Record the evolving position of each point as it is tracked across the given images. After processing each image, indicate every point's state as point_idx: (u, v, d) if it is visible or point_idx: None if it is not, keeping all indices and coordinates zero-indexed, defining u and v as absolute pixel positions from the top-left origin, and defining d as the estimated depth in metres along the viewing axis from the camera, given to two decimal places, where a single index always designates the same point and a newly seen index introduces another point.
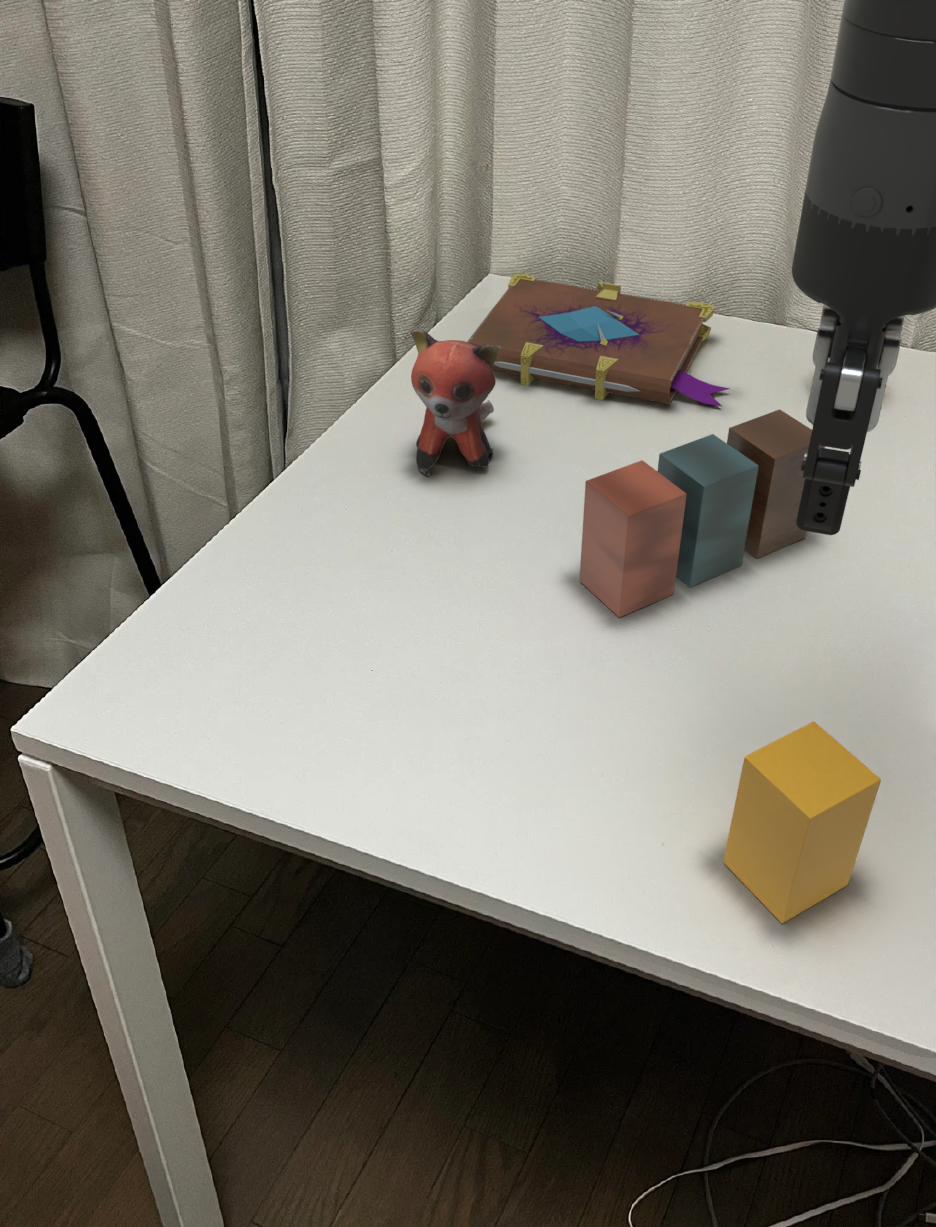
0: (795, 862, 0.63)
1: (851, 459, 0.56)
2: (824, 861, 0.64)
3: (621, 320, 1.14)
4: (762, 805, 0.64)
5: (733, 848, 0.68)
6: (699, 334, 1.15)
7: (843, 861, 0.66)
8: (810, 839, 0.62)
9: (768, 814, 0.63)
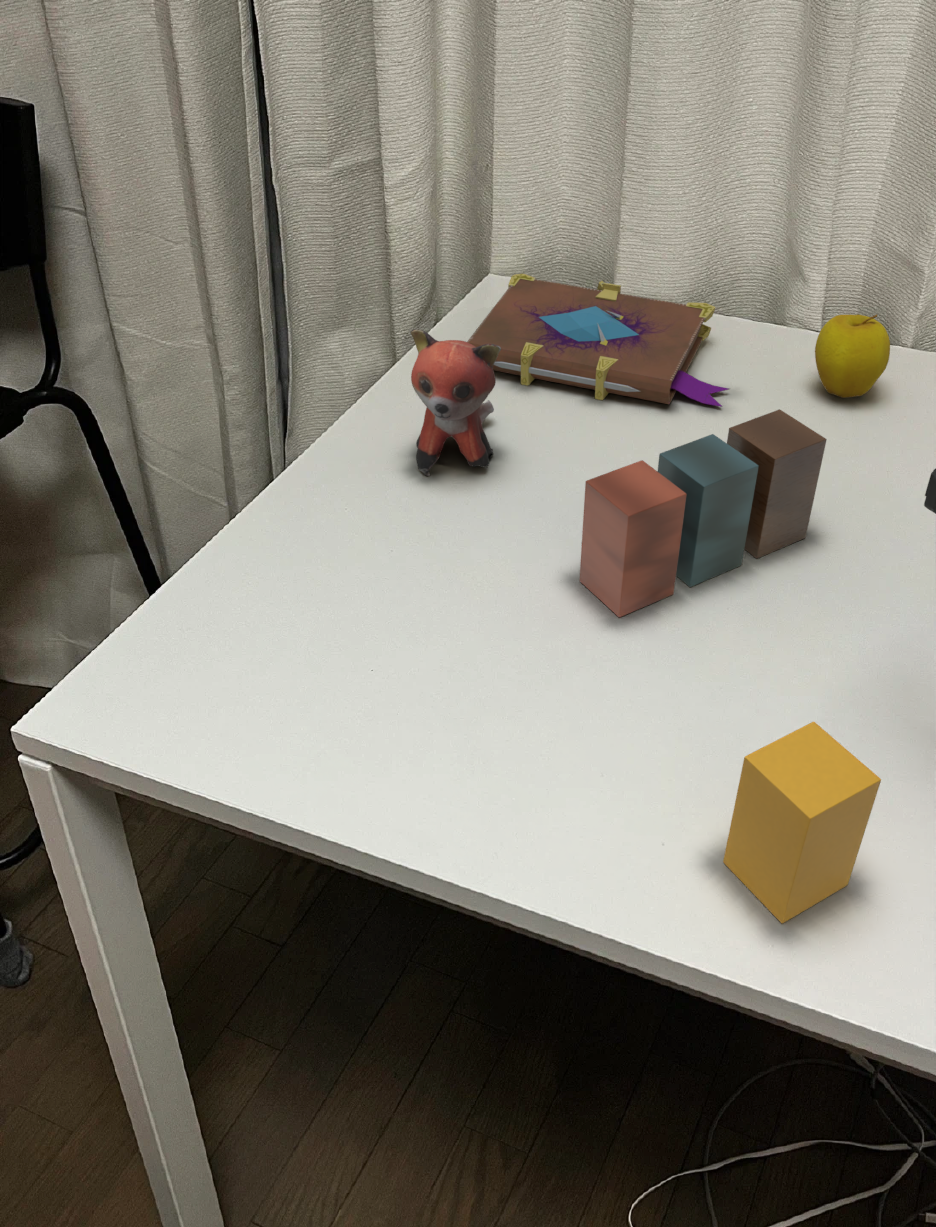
0: (795, 862, 0.63)
1: None
2: (824, 861, 0.64)
3: (621, 320, 1.14)
4: (762, 805, 0.64)
5: (733, 848, 0.68)
6: (699, 334, 1.15)
7: (843, 861, 0.66)
8: (810, 839, 0.62)
9: (768, 814, 0.63)
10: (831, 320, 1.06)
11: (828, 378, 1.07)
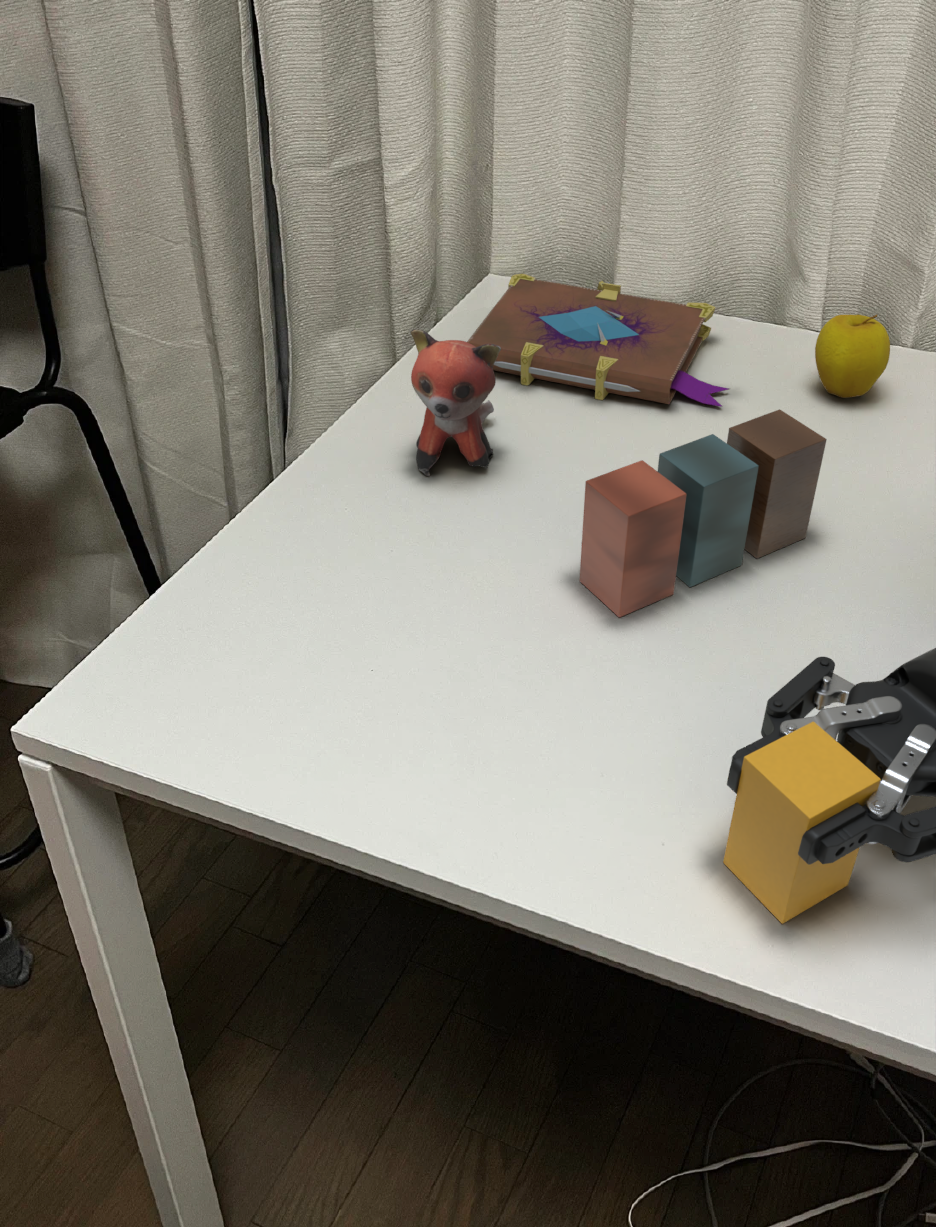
0: (794, 862, 0.63)
1: None
2: None
3: (621, 320, 1.14)
4: (762, 805, 0.64)
5: (733, 848, 0.68)
6: (699, 334, 1.15)
7: (843, 861, 0.66)
8: None
9: (768, 814, 0.63)
10: (831, 320, 1.06)
11: (828, 378, 1.07)
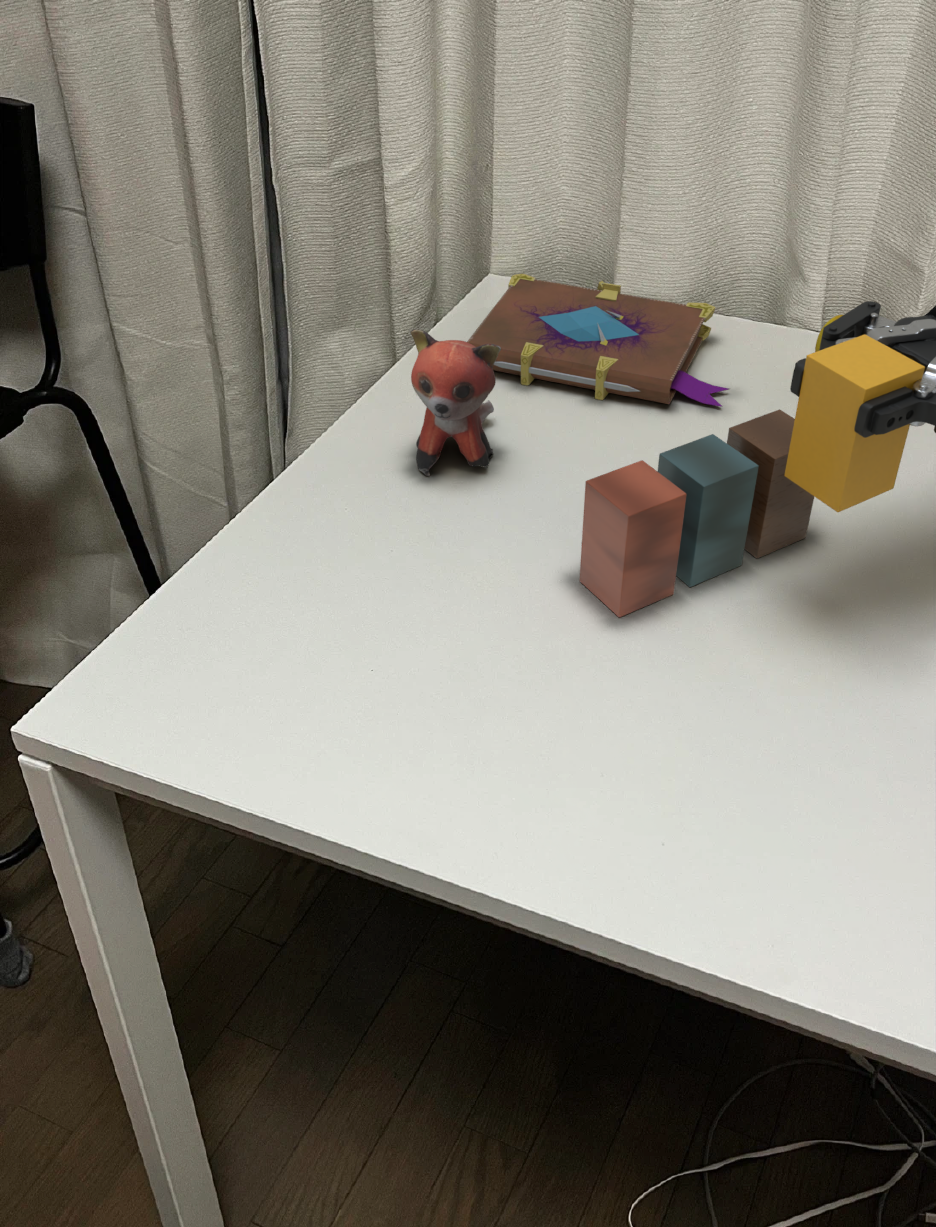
0: (850, 442, 0.73)
1: None
2: (875, 449, 0.75)
3: (621, 320, 1.14)
4: (822, 397, 0.74)
5: (794, 456, 0.78)
6: (699, 334, 1.15)
7: (890, 455, 0.76)
8: None
9: (827, 403, 0.74)
10: (831, 320, 1.06)
11: None
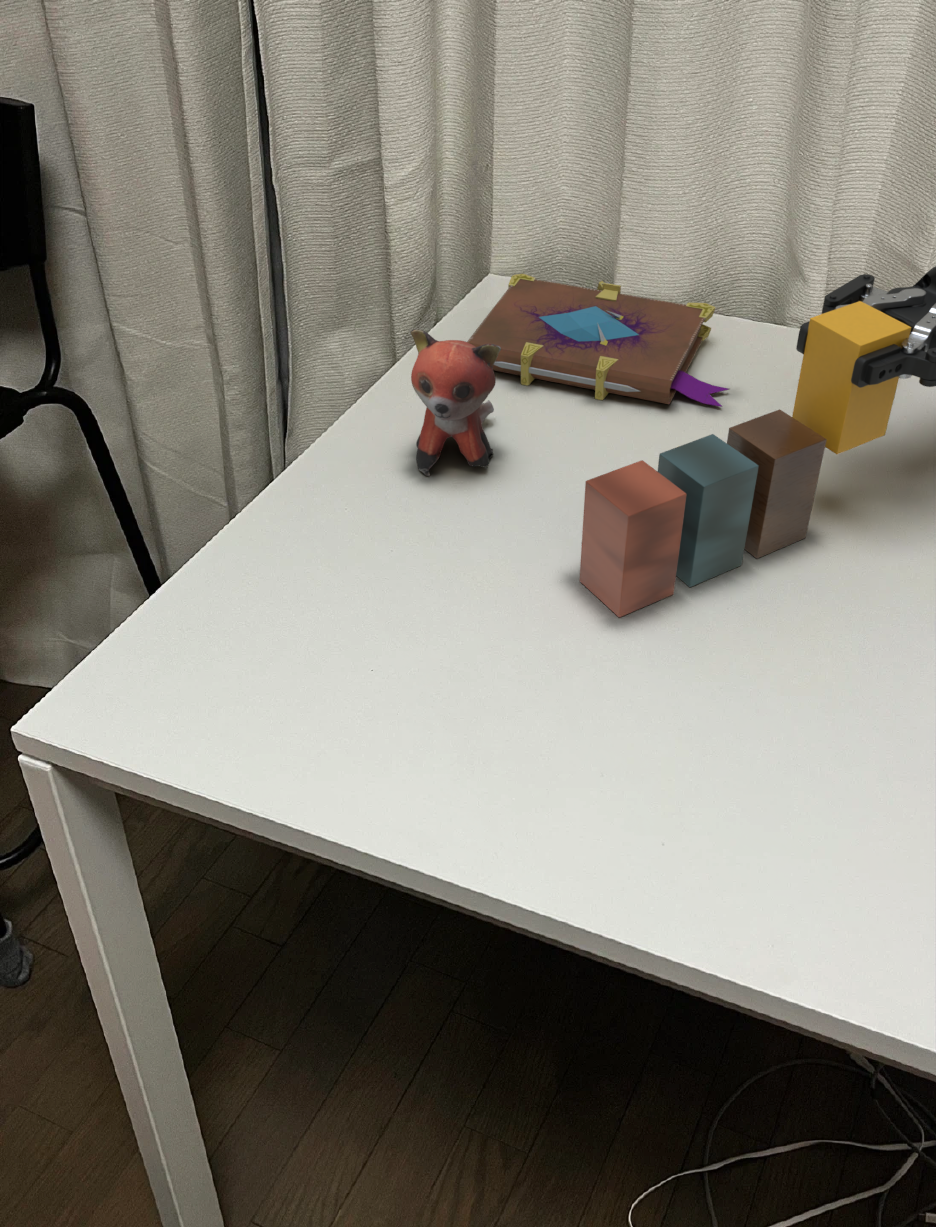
0: (848, 392, 0.86)
1: None
2: (869, 399, 0.87)
3: (621, 320, 1.14)
4: (823, 354, 0.86)
5: (799, 406, 0.91)
6: (699, 334, 1.15)
7: (882, 405, 0.88)
8: None
9: (828, 359, 0.86)
10: None
11: None
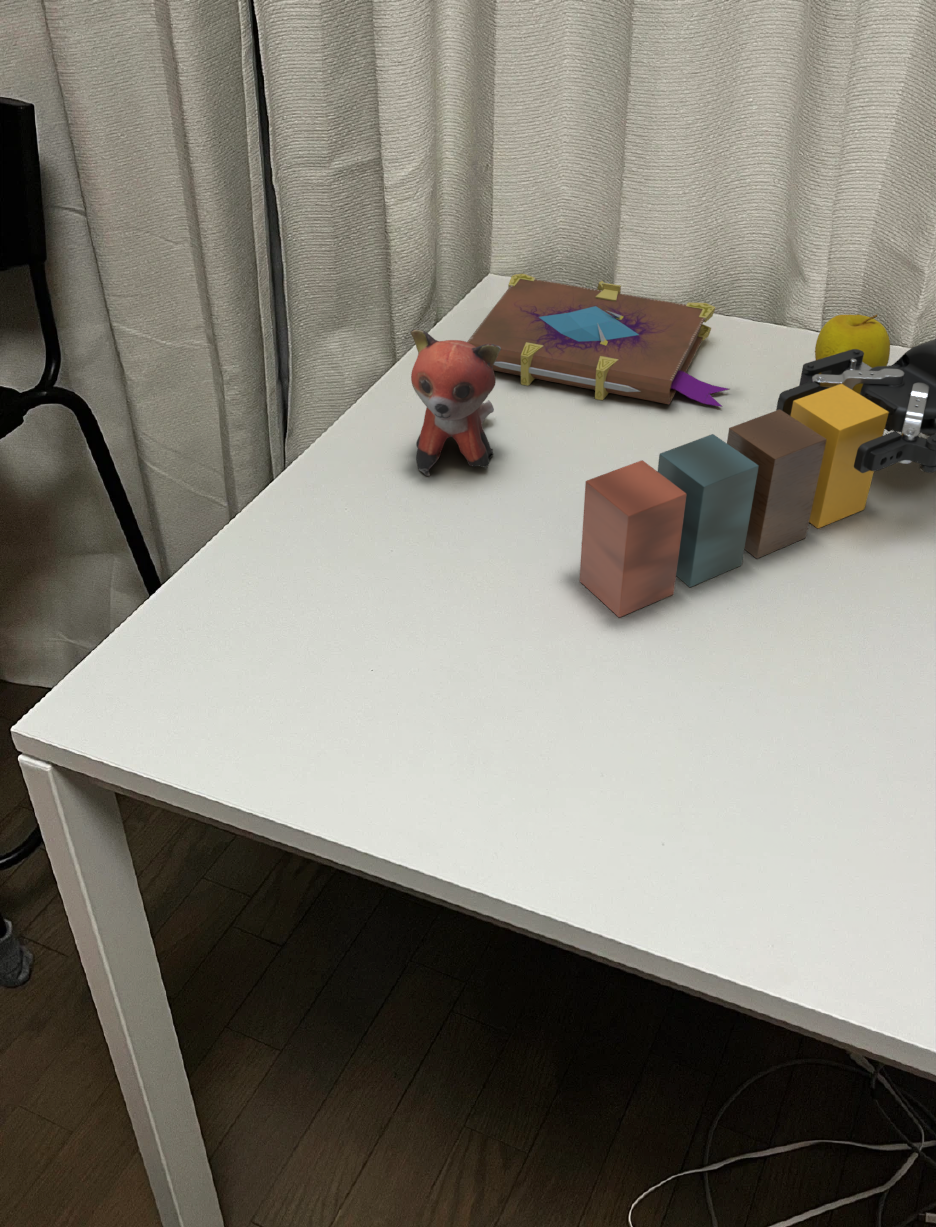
0: (828, 471, 0.90)
1: None
2: (848, 477, 0.92)
3: (621, 320, 1.14)
4: None
5: None
6: (699, 334, 1.15)
7: (861, 483, 0.93)
8: (839, 450, 0.89)
9: None
10: (831, 320, 1.06)
11: None
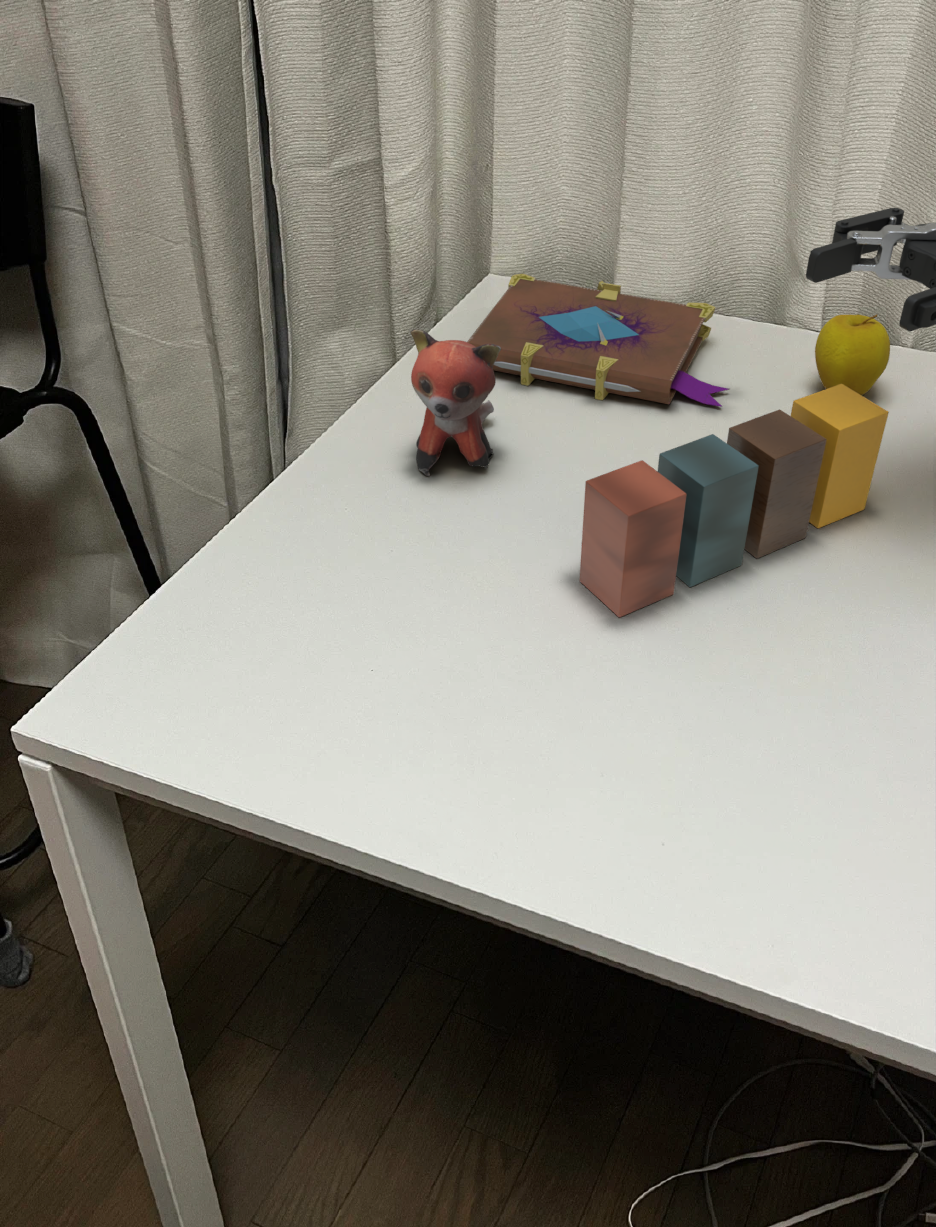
0: (828, 471, 0.90)
1: None
2: (848, 477, 0.92)
3: (621, 320, 1.14)
4: None
5: None
6: (699, 334, 1.15)
7: (861, 483, 0.93)
8: (839, 450, 0.89)
9: None
10: (831, 320, 1.06)
11: (828, 378, 1.07)
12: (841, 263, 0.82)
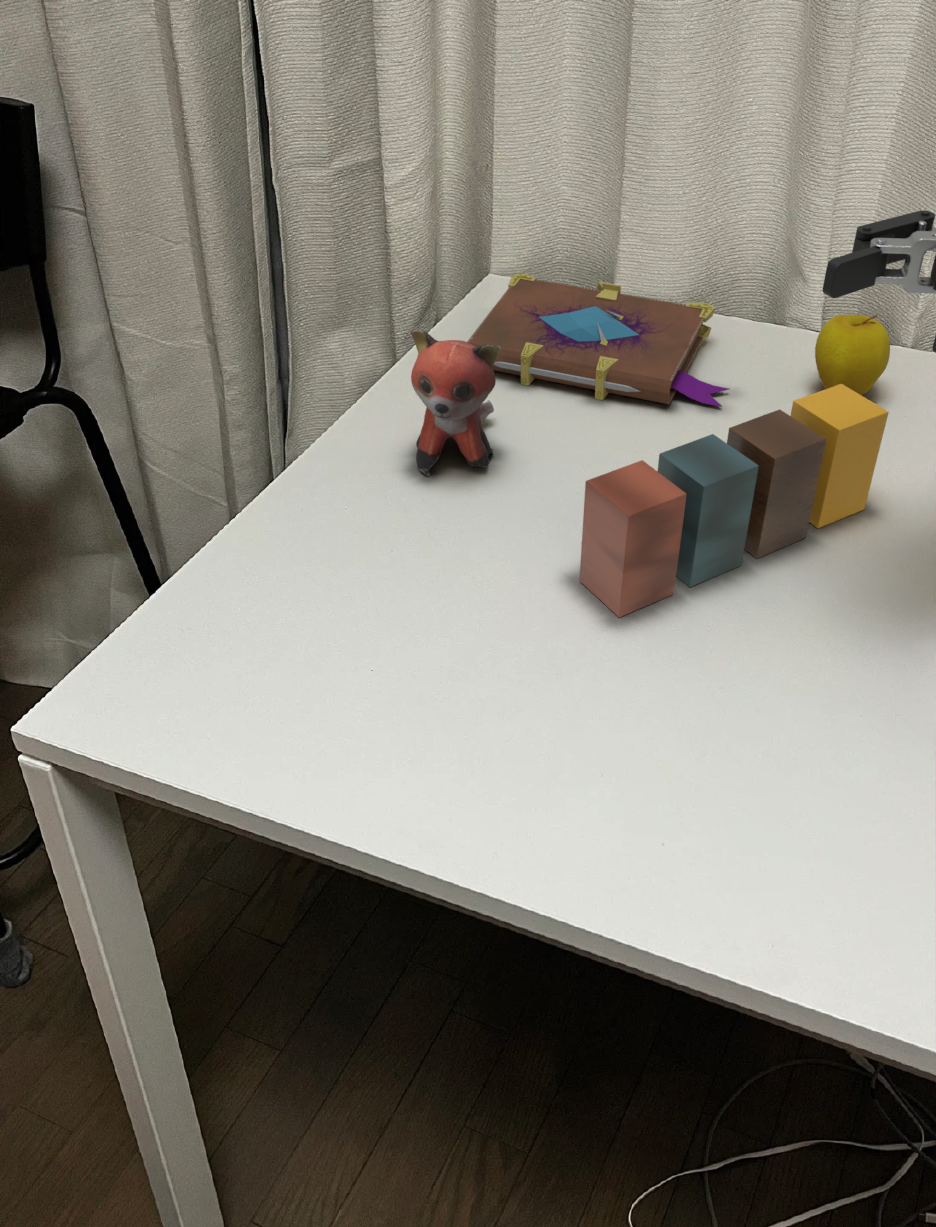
0: (828, 471, 0.90)
1: None
2: (848, 477, 0.92)
3: (621, 320, 1.14)
4: None
5: None
6: (699, 334, 1.15)
7: (861, 482, 0.93)
8: (839, 450, 0.89)
9: None
10: (831, 320, 1.06)
11: (828, 378, 1.07)
12: (863, 275, 0.72)
